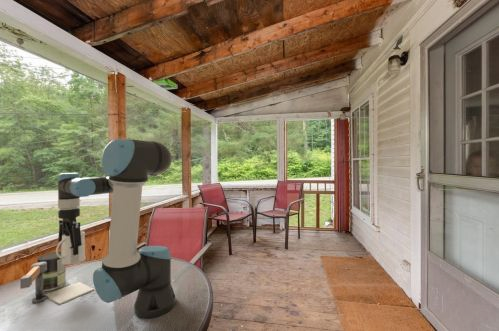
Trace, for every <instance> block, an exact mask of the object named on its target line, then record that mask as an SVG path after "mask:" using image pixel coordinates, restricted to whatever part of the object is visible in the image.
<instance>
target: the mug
mask: <svg viewBox="0 0 499 331" xmlns="http://www.w3.org/2000/svg"><path fill="white" fill-rule="evenodd" d="M80 233H81V243H82V245H81V246H79V261H78V262H74V263H71V249H70V247H72V246H71V241H70V236H66V235H65V234H63V235H62V241H61V242H59V243H58V244H57V245H56V249H55V252H56V254H57V256H58V257H59V258H62V264H65V265H73V264H79V263H81V262H83V261H85V260H86V249H85V248H86V247H85V246H86V243H85V242H86V236H85V234H86V233H85V231H81V230H80ZM61 244H62V256H60V255H59V254H58V252H59V248H60V247H61Z"/></svg>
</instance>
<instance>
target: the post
mask: <svg viewBox="0 0 499 331" xmlns="http://www.w3.org/2000/svg"><path fill="white" fill-rule="evenodd" d="M34 282H35V285H34V287H35V294H34V295H35V297H34V298H32V300H31V302H32V304H39V303H42V302H44V301H46V299H47V297H46V296H45V295H46V294H45V295H44V291H43V272H42V273H40V274H39V275H38V276H37V277H36V278H35V279H34Z"/></svg>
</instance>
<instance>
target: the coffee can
mask: <svg viewBox="0 0 499 331" xmlns="http://www.w3.org/2000/svg"><path fill="white" fill-rule="evenodd" d="M58 254H59V255H60V256H61V251H58ZM36 260H37V263H39V262H47V270H46V271H45V272H43V292H48V291H53V290H54V291H55V290H58V289H59V288H61V287H63V286H64V285H65V284H66V283H67V282H66V281H67V280H66V270H67V268H66V265H65V264H62V259H61V258H59V257H58V256H57V254H56V251H53V252H50V253H49V252H48V253H44V254H42V255H40V256H38V257H37V259H36Z"/></svg>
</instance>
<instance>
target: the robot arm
mask: <svg viewBox="0 0 499 331" xmlns="http://www.w3.org/2000/svg"><path fill="white" fill-rule="evenodd" d="M172 160H173V159H172V153H171V150H170V149H169V148H168V147H167V146H166V144H163V143H161V142H159V141H151V140H150V141H149V140H142V139H141V140H140V139H131V138H115V139H112V140H111V141H110V142H108V144H106V146H105V147H104V148H103V151H102V155H101V162H100V163H101V166H102V167H101V168H102V171H103V173H104V174H105V175H107V176H97V177H80V173H78V172H63V173H60V174H59V173H58V175H57V191H58V192H57V195H58V197H57V208H58V210H57V213H58V215H57V216H58V219H59V220H58V224H59V225H58V226H59V228H58V238H57V239H58V240H57V241H58V242H59V243H60V242H61V241H62V235H63V234H65V235H66V236H70V241H71V246H72V247H70V249H71V263H74V262H78V261H79V246H81V245H82V243H81V233H80V231H81V222H79V221H78V222H77V218H78V217H79V216H81V215H80V214H81V209H80V206H81V205H80V203H81V199H80V198H82V197H84V198H86V197H90V196H95V195H102V194H112V202H111V214H110V227H109V238H108V239H109V240H108V250H107V251H108V252H107V254H105V255H104V257H103V258H102V261H101V262H102V263H101V267H97V268H96V269H95V270H94V272H93V274H92V282H93V286H94V291H95V292H96V294H97V296H98V298H100V300H101V301H103V302H104V303H108V304H110V303H113V302H115V301H118V300H121V299H122V298H124V297H126V296H128V295H131V294H132V293H134V292H136V291H138V293H137V295H136V299H135V302H134V304H133V312H134V314H135V316H136V317H138V318H143V319H152V318H156V317H160V316H162V315H163V316H164V315H165V314H167V313H169V312H170V311H171V310H173V309H174V307H175V305H176V294H175V292H174V289H173V286H172V284H171V283H172V280H171V279H172V278H171V277H172V276H171V275H172V274H171V273H172V272H171V271H172V270H171V264H172V263H171V262H172V260H171V259H172V257H171V250H170V248H168V246H164V245H163V246H162V245H146V246H143V247H140V248H139V249H138V241H139V240H138V238H139V227H140V215H141V204H142V194H143V193H142V192H143V186H144V185H145V184H146V183H147V182H148V180H149V177H150V176H151V177H156V176H158V175H160V174H163V173H165V172H166V171H168V170H169V168H170V167H171V164H172ZM137 249H138V251H137ZM60 252H61V256H62V244H61V245H60ZM61 259H62V258H61Z"/></svg>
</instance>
